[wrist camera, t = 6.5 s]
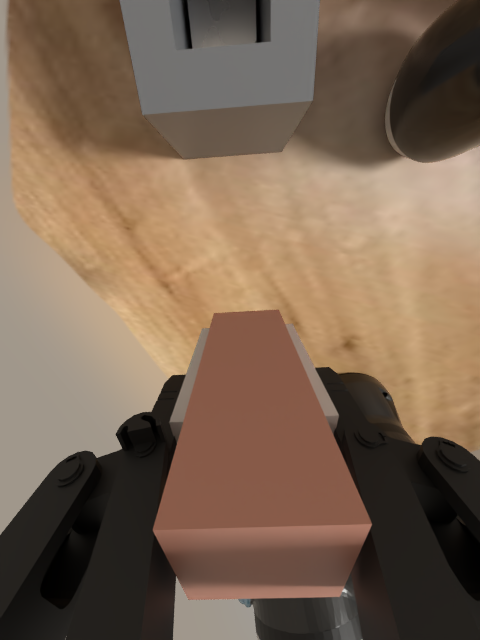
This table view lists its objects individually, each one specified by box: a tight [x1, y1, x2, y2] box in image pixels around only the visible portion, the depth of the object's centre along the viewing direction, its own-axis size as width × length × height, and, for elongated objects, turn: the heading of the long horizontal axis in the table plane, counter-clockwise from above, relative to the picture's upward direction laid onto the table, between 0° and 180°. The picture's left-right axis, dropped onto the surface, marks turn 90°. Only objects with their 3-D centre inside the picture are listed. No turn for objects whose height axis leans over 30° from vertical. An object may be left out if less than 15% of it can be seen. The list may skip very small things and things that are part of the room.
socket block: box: [120, 0, 320, 159], centre depth 16 cm, size 11×11×11 cm
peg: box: [153, 310, 372, 600], centre depth 9 cm, size 4×4×10 cm
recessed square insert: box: [187, 0, 256, 49], centre depth 16 cm, size 5×5×1 cm
